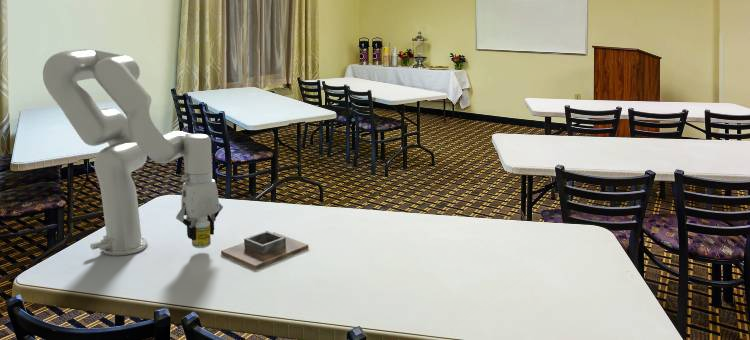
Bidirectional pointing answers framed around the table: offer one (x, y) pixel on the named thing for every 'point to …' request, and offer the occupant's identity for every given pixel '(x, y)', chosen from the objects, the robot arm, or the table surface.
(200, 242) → the supplement bottle
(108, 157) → the robot arm
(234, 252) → the board with square frame
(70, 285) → the table surface
